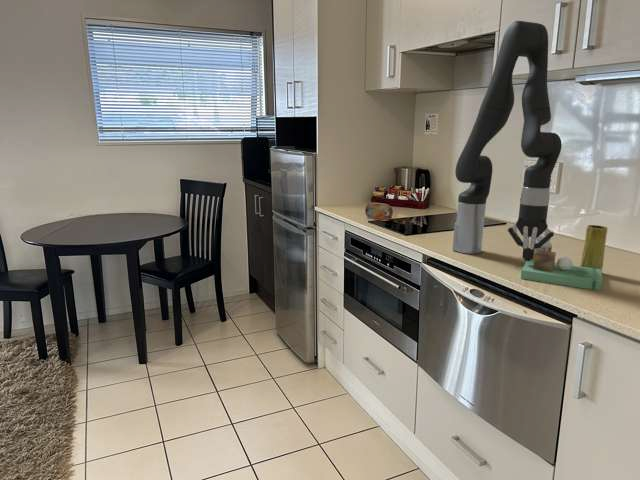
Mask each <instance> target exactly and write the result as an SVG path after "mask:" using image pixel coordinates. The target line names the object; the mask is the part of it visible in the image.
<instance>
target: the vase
mask: <svg viewBox="0 0 640 480" xmlns="http://www.w3.org/2000/svg"><path fill="white" fill-rule="evenodd" d="M585 231H586V233H585V237H584V238H585V239H584V245H583V250H582V256H581V262H580V267H587V268H595V269H601V272H602V273H603V266H604V260H605V257H604V256H605V251H606V249H605V248H606V242H607V235H608V227H607V226H604V225H598V224H597V225H595V224H590V225H587V227H586V230H585Z"/></svg>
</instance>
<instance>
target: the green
mask: <svg viewBox="0 0 640 480" xmlns="http://www.w3.org/2000/svg"><path fill="white" fill-rule="evenodd" d="M533 265H534V260H530V261H525V263H524V265H523V267H522V269H521V272H520V279H521V280H522V279H523V280H527V281H535V282H542V283H547V284H553V285H554V284H555V285H560V286H565V287H566V286H567V287H574V288H579V289H587V290H593V291H602V286H603V271H602V272H601V269H595V268H587V267H580V266H581V265H580V266H579V265H572V267H571V268H570V269H569V270H561V269H559V268H558V266H557V262H555V263H554V267H553V271H552V272H549V271H542V270H535V269H533Z"/></svg>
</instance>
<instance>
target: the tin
mask: <svg viewBox="0 0 640 480" xmlns="http://www.w3.org/2000/svg"><path fill="white" fill-rule="evenodd" d="M393 213H394V211H393V207H392V206H391V205H390V204H387V203H381V202H369V203H368V204H367V205H366V206H365V215H366V217H367V219H368V218H369V219H368V220H370V219H374V220H373V221H375V220H380V221H387V222H390V220H392V219H393V215H394V214H393ZM380 221H379V222H380Z"/></svg>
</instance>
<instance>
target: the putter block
mask: <svg viewBox="0 0 640 480" xmlns="http://www.w3.org/2000/svg"><path fill="white" fill-rule="evenodd" d="M556 253H557V252H556V251H551V252H548V251H540V250H537V252H536V254H535V257H534V265H533V269H535V270H542V271H549V272H552V271H553V267H554V263H556Z"/></svg>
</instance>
